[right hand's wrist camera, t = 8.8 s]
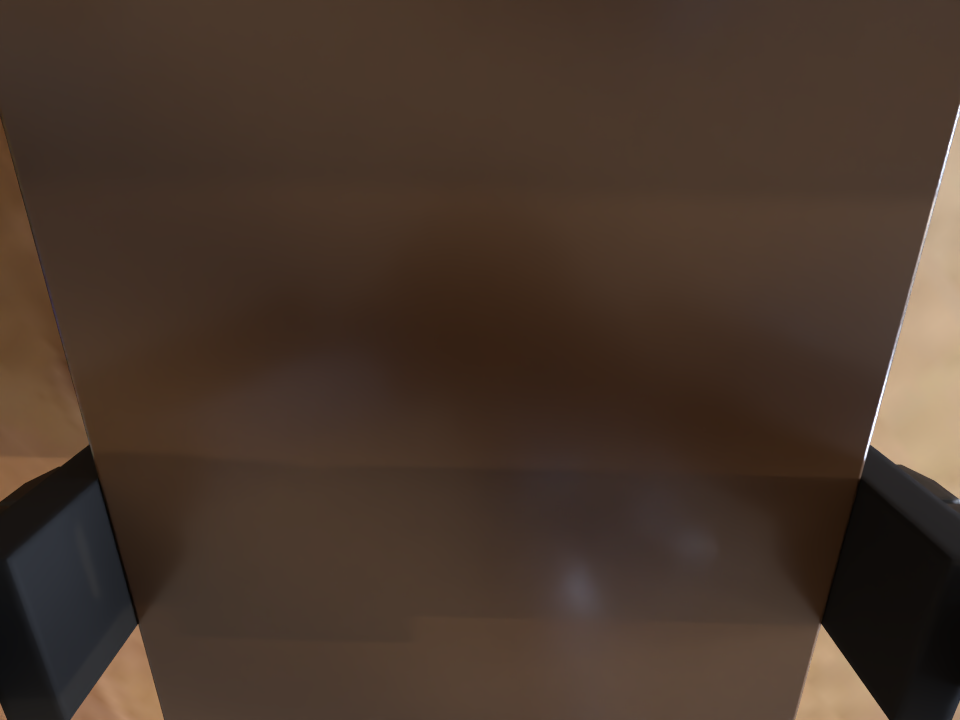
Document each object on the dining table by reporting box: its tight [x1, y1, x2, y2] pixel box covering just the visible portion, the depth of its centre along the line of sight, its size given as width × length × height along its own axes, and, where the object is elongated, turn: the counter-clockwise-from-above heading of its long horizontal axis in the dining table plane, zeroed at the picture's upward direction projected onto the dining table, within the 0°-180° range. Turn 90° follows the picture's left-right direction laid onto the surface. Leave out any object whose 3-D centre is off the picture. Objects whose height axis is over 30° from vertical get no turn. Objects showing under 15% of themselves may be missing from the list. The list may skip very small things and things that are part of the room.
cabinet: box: [0, 0, 960, 720], centre depth 12 cm, size 17×11×10 cm, turn 0°
